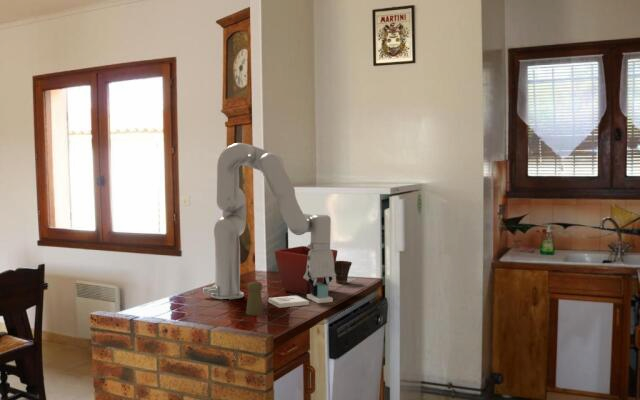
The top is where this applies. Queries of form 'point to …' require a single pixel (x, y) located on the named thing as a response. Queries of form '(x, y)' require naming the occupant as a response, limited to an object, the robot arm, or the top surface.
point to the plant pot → (295, 268)
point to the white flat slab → (288, 301)
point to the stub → (321, 294)
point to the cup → (342, 271)
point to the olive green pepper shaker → (254, 299)
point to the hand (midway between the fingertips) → (319, 294)
